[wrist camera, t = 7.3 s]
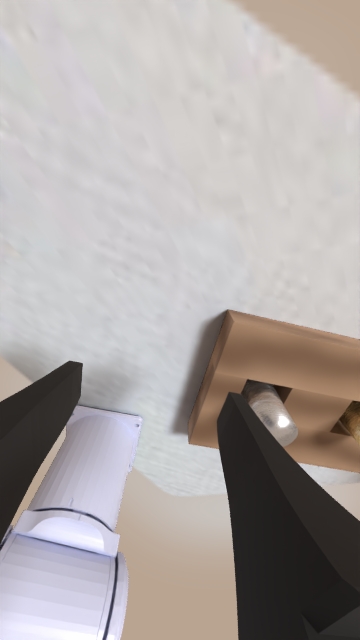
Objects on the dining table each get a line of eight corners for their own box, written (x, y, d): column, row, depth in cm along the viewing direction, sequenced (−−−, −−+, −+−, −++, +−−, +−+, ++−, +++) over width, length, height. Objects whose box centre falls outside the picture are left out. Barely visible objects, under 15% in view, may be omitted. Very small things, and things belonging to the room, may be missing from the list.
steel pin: (262, 395, 23) (288, 450, 17) (234, 391, 23) (252, 445, 17) (272, 372, 22) (304, 423, 16) (243, 368, 21) (265, 417, 16)
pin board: (350, 452, 26) (366, 474, 24) (188, 423, 25) (188, 443, 22) (430, 355, 21) (460, 372, 18) (227, 309, 19) (234, 321, 17)
